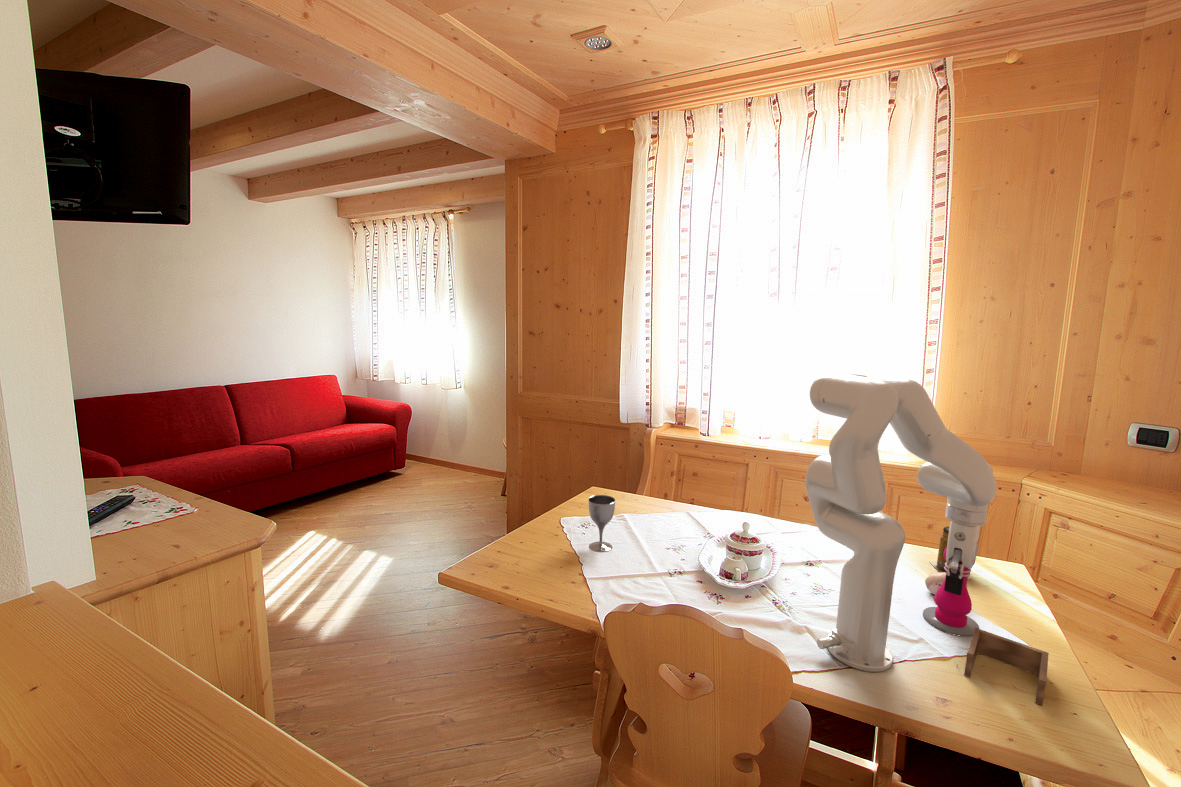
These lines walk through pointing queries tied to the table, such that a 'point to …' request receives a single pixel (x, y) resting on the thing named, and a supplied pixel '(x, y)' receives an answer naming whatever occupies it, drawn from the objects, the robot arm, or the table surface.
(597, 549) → the wine glass
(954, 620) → the pepper mill
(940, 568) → the condiment
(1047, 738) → the table surface
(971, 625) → the coaster
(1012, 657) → the cradle
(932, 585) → the beige plush toy
